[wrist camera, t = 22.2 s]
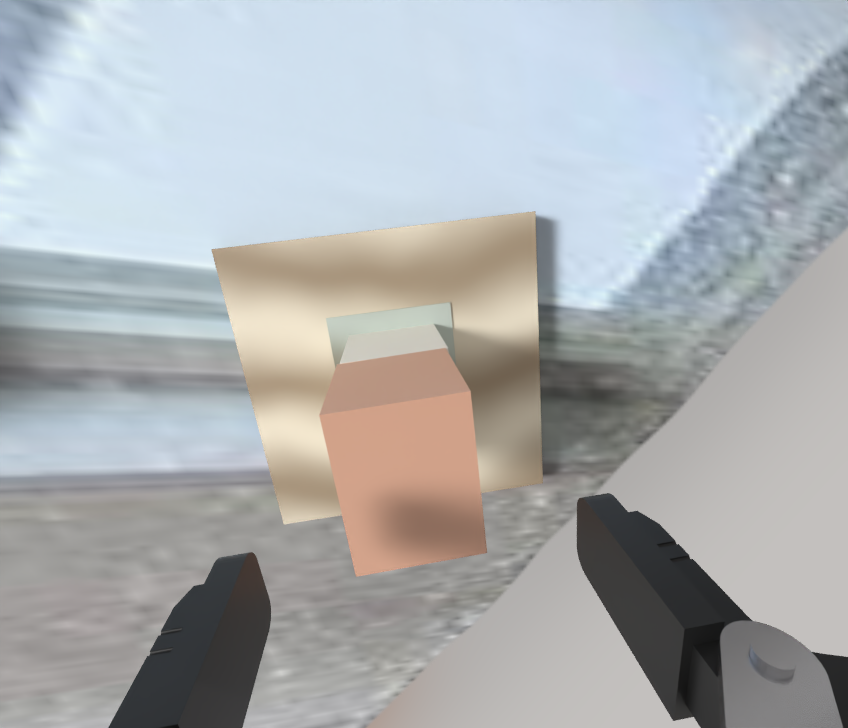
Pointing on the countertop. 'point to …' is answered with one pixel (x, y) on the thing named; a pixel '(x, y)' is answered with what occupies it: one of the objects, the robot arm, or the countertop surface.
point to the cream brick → (392, 343)
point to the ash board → (385, 310)
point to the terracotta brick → (404, 460)
